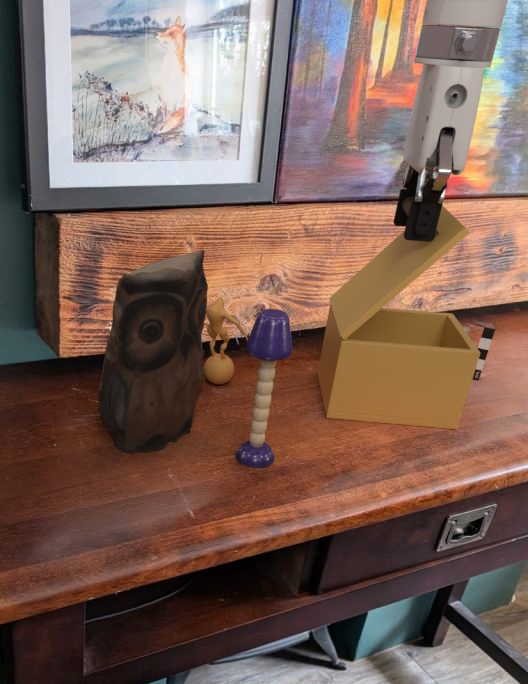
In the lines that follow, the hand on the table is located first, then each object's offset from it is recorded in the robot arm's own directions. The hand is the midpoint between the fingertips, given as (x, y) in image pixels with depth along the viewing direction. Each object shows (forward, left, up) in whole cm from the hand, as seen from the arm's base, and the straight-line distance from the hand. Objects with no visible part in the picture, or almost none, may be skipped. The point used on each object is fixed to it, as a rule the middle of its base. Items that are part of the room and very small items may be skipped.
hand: (412, 231), depth 85 cm
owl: (+29, +13, -21) cm, 38 cm away
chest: (-1, 0, -21) cm, 21 cm away
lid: (+1, 0, -5) cm, 5 cm away
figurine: (+21, 0, -21) cm, 30 cm away
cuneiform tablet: (-11, -14, -21) cm, 28 cm away
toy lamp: (+16, +19, -21) cm, 33 cm away
